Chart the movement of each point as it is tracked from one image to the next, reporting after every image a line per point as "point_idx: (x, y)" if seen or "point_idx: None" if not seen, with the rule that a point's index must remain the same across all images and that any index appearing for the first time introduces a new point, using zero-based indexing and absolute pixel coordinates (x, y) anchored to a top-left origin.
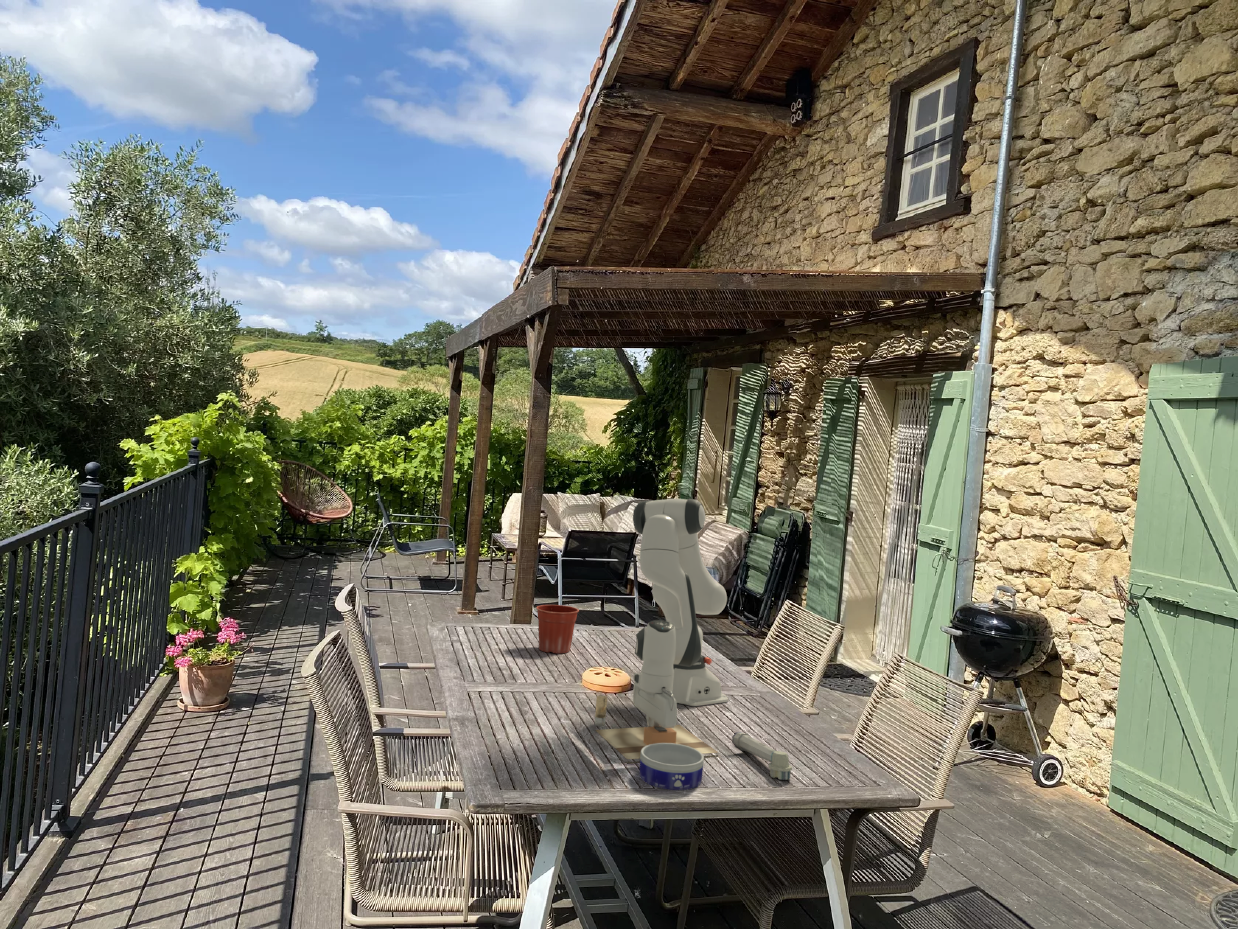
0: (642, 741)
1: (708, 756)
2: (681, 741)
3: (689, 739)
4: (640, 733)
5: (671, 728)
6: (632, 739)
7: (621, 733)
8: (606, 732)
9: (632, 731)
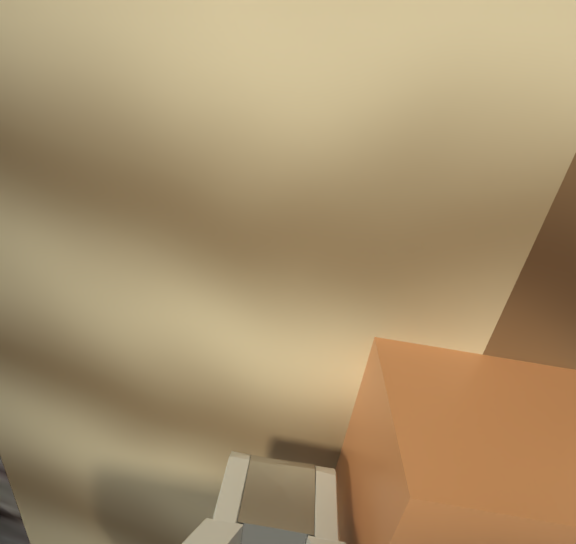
0: None
1: None
2: (483, 200)
3: (483, 12)
4: (129, 430)
5: (556, 530)
6: None
7: (116, 524)
8: None
9: (77, 454)
